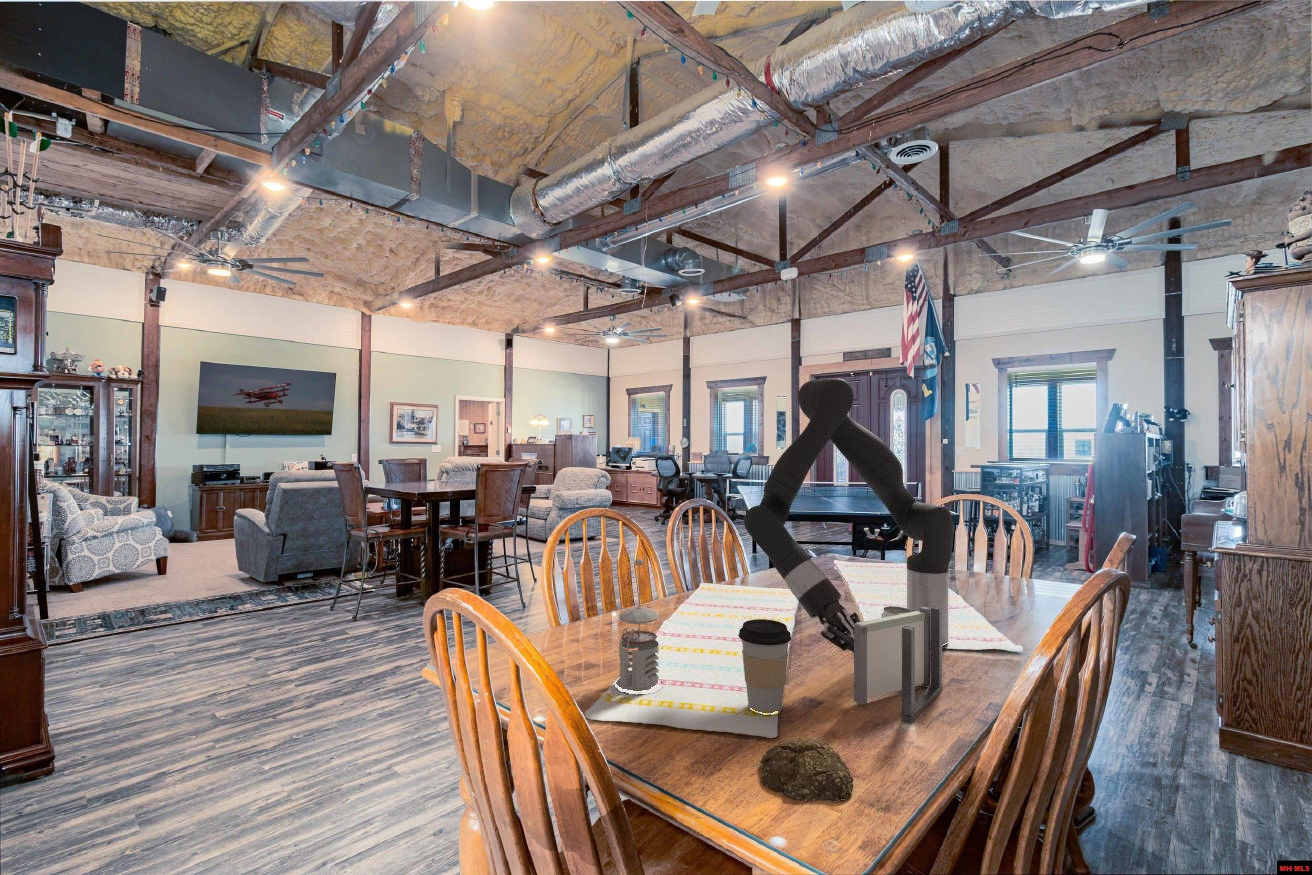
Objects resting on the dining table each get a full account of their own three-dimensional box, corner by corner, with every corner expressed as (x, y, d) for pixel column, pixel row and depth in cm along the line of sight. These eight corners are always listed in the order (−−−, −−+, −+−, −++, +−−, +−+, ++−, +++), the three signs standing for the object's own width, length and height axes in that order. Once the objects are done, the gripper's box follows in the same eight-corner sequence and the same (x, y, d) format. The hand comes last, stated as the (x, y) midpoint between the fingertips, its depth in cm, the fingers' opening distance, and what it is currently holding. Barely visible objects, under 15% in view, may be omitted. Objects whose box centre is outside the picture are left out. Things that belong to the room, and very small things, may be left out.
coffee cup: (793, 701, 112) (794, 620, 112) (787, 723, 103) (788, 636, 103) (743, 694, 115) (743, 615, 115) (733, 715, 106) (733, 630, 106)
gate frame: (933, 686, 119) (934, 605, 119) (942, 688, 118) (942, 607, 118) (901, 720, 104) (901, 628, 104) (910, 723, 103) (910, 630, 103)
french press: (671, 680, 122) (671, 556, 122) (646, 702, 111) (646, 567, 111) (628, 671, 126) (628, 552, 126) (600, 693, 115) (600, 562, 115)
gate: (923, 681, 120) (923, 606, 120) (932, 685, 118) (932, 608, 118) (853, 700, 111) (853, 619, 111) (861, 705, 109) (861, 622, 109)
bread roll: (833, 755, 93) (833, 723, 93) (863, 803, 81) (864, 766, 81) (751, 756, 93) (751, 724, 93) (769, 805, 81) (769, 768, 81)
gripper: (809, 582, 115) (871, 663, 107) (838, 571, 125) (897, 644, 117) (783, 605, 118) (842, 685, 110) (814, 592, 128) (870, 665, 120)
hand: (870, 664), depth 114 cm, fingers closed
